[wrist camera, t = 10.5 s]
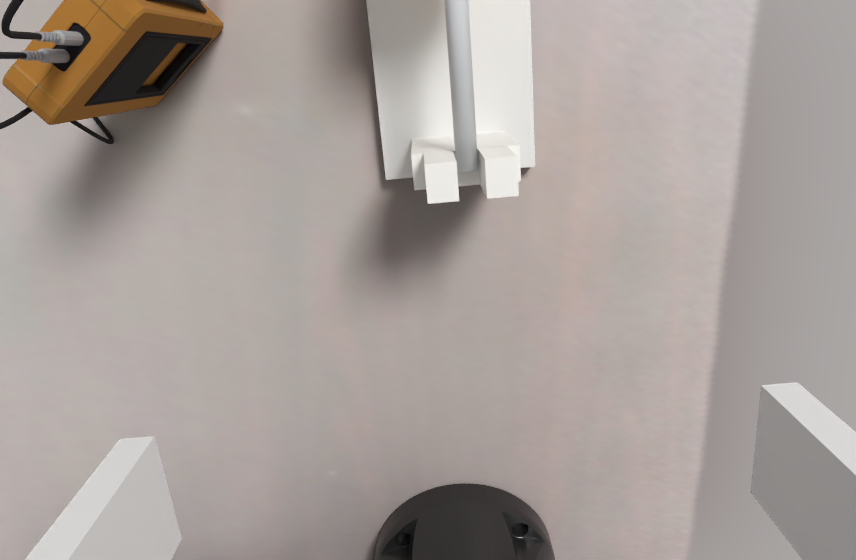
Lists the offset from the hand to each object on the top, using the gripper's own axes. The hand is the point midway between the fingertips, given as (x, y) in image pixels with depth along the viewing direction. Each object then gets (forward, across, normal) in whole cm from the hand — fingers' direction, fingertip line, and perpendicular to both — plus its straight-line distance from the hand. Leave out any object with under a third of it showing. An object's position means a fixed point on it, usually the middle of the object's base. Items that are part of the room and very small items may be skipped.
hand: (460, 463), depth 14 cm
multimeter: (+32, +18, -13) cm, 39 cm away
